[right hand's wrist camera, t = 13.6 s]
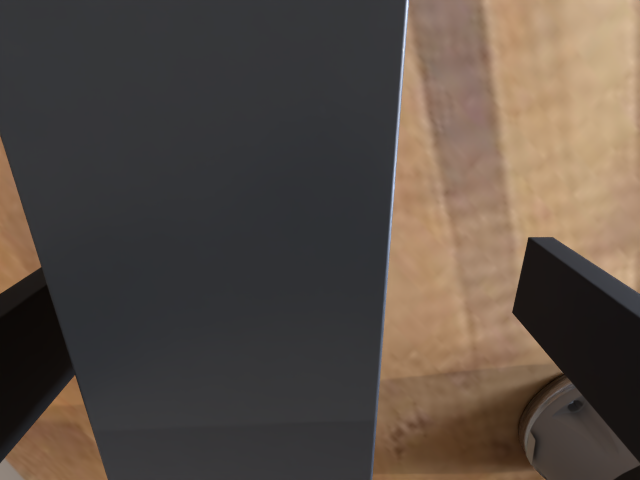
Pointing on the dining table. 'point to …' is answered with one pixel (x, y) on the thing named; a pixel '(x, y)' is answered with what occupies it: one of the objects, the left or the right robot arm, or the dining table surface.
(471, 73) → the dining table surface
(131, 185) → the bar
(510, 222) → the dining table surface
